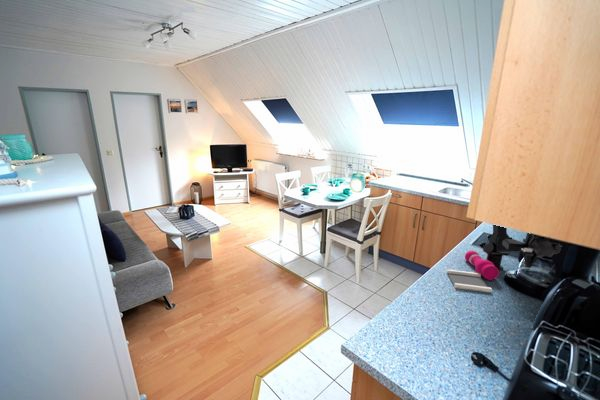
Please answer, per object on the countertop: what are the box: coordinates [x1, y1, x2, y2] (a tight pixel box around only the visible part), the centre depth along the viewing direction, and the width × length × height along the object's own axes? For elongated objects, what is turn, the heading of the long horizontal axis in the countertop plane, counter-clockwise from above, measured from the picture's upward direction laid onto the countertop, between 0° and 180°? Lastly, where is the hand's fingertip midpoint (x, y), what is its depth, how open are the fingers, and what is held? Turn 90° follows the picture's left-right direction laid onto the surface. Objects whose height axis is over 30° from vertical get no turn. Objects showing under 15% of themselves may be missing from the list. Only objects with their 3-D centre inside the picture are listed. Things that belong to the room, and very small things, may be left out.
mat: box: [446, 269, 493, 294], centre depth 115 cm, size 12×13×2 cm
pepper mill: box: [464, 250, 500, 281], centre depth 125 cm, size 7×7×20 cm
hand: (527, 267), depth 108 cm, fingers closed
